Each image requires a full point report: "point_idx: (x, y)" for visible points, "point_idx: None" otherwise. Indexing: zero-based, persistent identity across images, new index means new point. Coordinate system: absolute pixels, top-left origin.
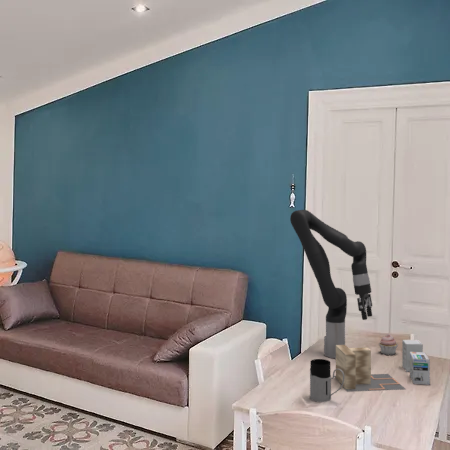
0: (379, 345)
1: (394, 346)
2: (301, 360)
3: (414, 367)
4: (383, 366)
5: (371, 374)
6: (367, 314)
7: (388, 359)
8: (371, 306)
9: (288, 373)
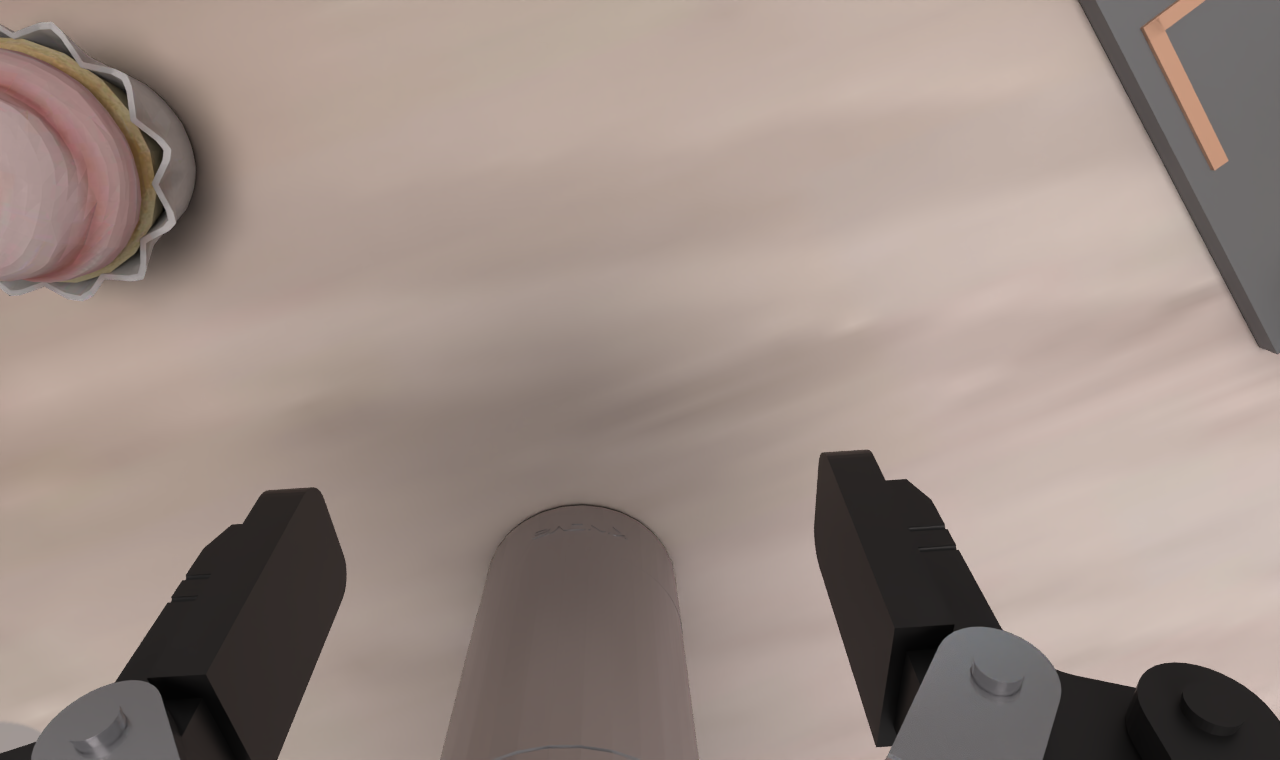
0: (145, 266)
1: (72, 43)
2: (866, 744)
3: None
4: (660, 31)
5: (1112, 25)
6: (331, 616)
7: (350, 70)
8: (80, 731)
9: (1243, 682)
